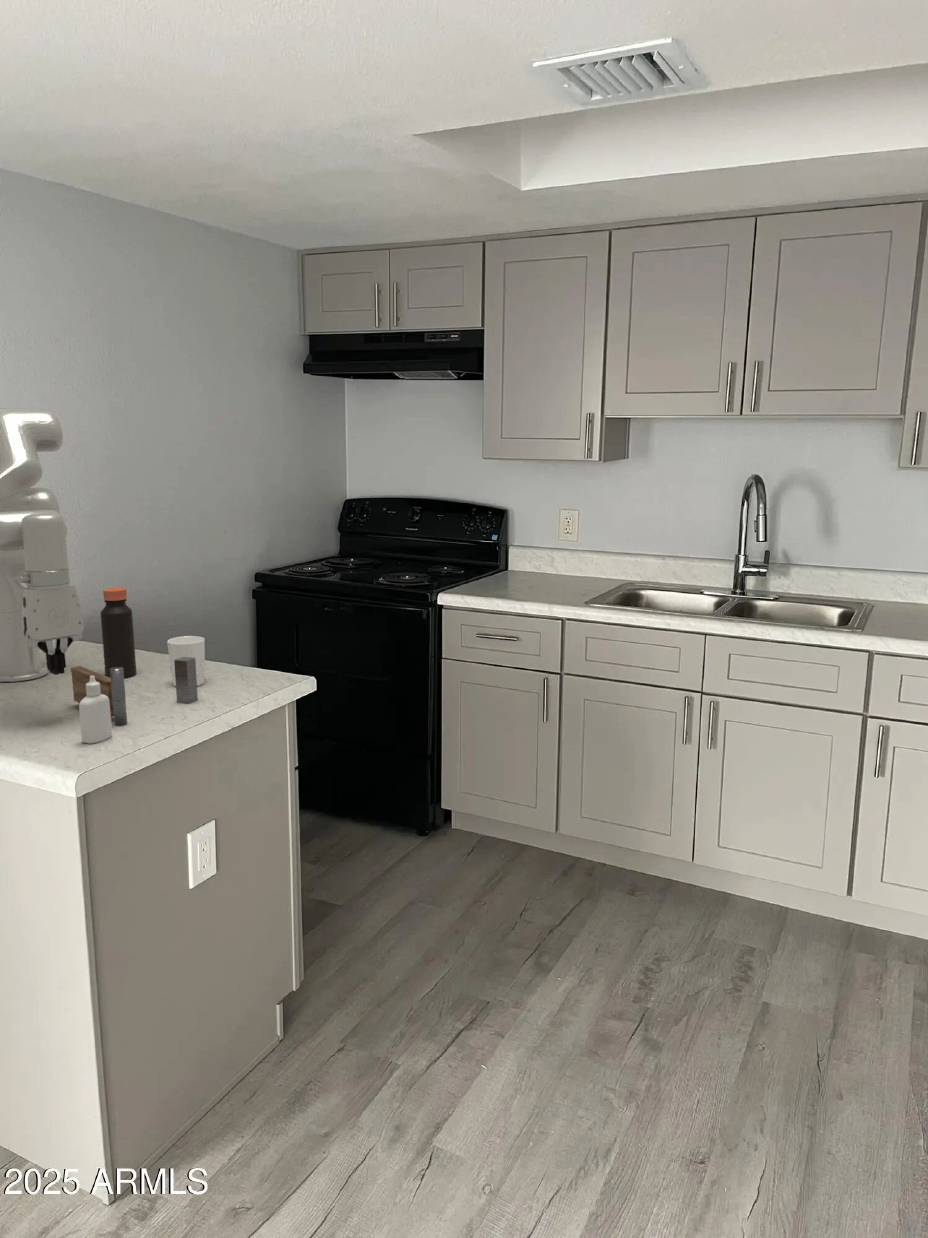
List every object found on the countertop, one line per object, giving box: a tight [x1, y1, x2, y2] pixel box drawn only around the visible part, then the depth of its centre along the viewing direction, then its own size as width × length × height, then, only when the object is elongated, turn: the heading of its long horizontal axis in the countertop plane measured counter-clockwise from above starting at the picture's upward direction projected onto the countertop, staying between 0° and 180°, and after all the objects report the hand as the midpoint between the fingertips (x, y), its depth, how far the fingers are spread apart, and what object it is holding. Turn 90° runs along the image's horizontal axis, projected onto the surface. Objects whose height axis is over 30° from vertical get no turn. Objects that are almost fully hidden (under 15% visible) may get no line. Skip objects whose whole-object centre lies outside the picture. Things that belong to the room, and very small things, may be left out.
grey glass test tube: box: [110, 667, 128, 727], centre depth 185 cm, size 2×2×11 cm
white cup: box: [166, 635, 206, 687], centre depth 213 cm, size 8×8×10 cm
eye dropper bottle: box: [78, 676, 113, 744], centre depth 176 cm, size 4×6×12 cm
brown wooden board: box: [70, 665, 114, 718], centre depth 192 cm, size 2×16×7 cm, turn 45°
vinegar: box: [100, 587, 137, 679], centre depth 219 cm, size 7×7×20 cm
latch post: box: [174, 657, 199, 704], centre depth 200 cm, size 3×3×9 cm
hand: (57, 672), depth 186 cm, fingers closed
